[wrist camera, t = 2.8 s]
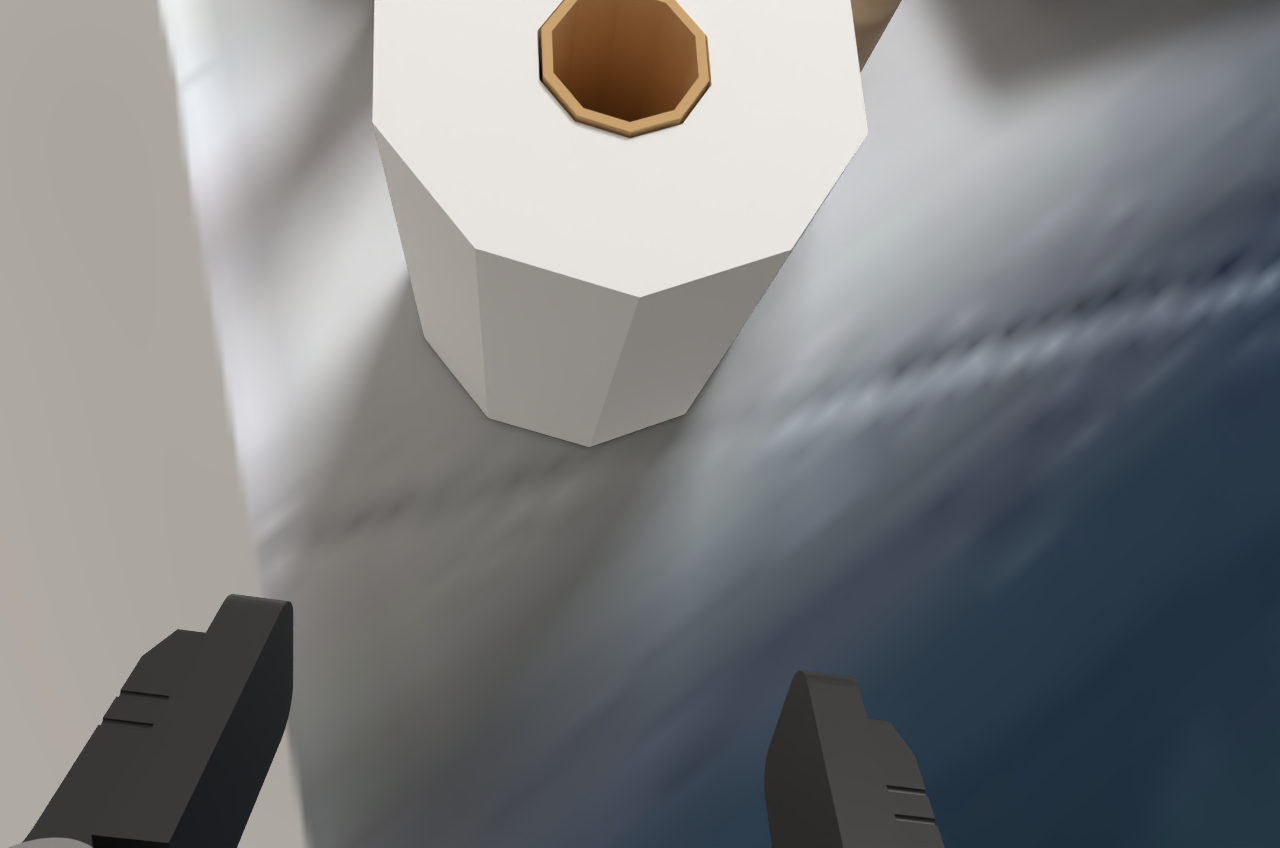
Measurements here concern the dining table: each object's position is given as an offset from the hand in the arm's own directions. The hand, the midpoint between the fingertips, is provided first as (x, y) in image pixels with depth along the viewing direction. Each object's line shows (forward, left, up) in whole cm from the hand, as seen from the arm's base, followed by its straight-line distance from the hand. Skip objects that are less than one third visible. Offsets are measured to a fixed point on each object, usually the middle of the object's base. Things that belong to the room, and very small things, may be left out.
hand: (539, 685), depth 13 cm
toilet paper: (+12, -4, -16) cm, 20 cm away
